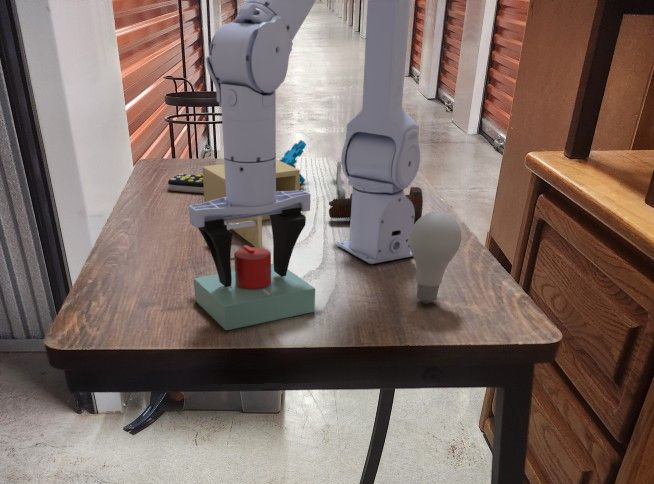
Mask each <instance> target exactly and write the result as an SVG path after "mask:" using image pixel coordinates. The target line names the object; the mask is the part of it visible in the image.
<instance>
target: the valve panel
mask: <svg viewBox="0 0 654 484" xmlns="http://www.w3.org/2000/svg"><path fill="white" fill-rule="evenodd" d="M231 276H232V282H231V286H230V287H225V286H224V285H222V284H221V283H220V281H219V277H218V273H214V274H209V275H203V276H198V277H194V278H193V288H194V290H193V291H194V300H195V302H196V303H197V304H198V305H199V306H200V307H201V308H202V309H203V310H204V311H205V312H206V313H207V314H208V315H209V316H211V318H212V319H213V320H214V321H215V322H217V324H218V325H220V326H221V327H222V328H223V330H225V331H231V330H236V329H240V328H244V327H248V326H254V325H258V324H263V323H269V322H272V321H277V320H278V321H279V320H282V319H287V318H291V317H296V316H302V315H306V314H311V313H315V309H316V287H314V286H312V285H311V284H310V283H308V282H307V281H306V280H304V279H302V278H301V277H299V276H298V275H296V274H295V273H294V272H292V271H291V270H289V268H288V269H287V274H286V276H283V277H281V276H280V275H278V274H277V273H276V272H274V265H273V263H271V284H270V285H269V286H267V287H264V288H260V289H245V288H241V287H239V286H237V285H236V282H235V270H231Z"/></svg>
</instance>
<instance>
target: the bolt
mask: <svg viewBox="0 0 654 484" xmlns="http://www.w3.org/2000/svg"><path fill="white" fill-rule="evenodd" d="M349 196H350V197H345V198H342V199H341V198H340V199H339V198H338V197H337V198H335V197H334V198H333V199H332V200H331V201H329V202H328V205H329V207H330V208H329V209H328V216H329V218H331V219H334V220H337V219H339V220H340V219H341V220H342V219H349V222H350V221H351V205H352V192H351V193H350V195H349ZM405 196H406V197H407V198H408V199H409V200H410V201H411V202H412V204H413V206H414V210H415V218H414V224H415V223H416V221H417V220H418V219H419V218H420V217H422V216H423V215H422V214H423V207H424V204H423V203H424V200H423V199H424V197H423V190H422V188H420V187H418V186H410V188H409V194H405Z"/></svg>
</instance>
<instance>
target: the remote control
mask: <svg viewBox="0 0 654 484" xmlns="http://www.w3.org/2000/svg"><path fill="white" fill-rule="evenodd" d="M167 186H168V189H169V191H171V192H179V193H180V192H181V193H194V194H204V184H203V175H201V174H187V173H186V174H184V173H178V174H177V175H174V176H173V177H172V178H170V179H168V180H167Z"/></svg>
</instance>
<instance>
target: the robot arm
mask: <svg viewBox="0 0 654 484" xmlns="http://www.w3.org/2000/svg"><path fill="white" fill-rule="evenodd" d="M315 3H316V0H245V2H243V4H242V5H241V7H240V9H239V11H238V14H237V15H236V17H235V18H234V20H233V22H227V23H224V24H222V25H221V26H220V27H219V28H218V30H217V31H216V32H215V33H214V35H213V37H212V38H211V41H210V45H209V51H208V56H206V57H205V62H206V67H207V68H206V69H207V72H208V75H209V78H210V79H211V81H212V82H213V84H214V87H215V93H216V103H218V106H219V107H220V108H221V121H222V122H221V124H222V143H223V164H224V166H225V186H226V197H223V198H219V199H215V200H212V201H208V202H205V201H204V202H200V203H197V204H189V205H188V213H189V224H191V225H192V226H193V227H194V228H196V229H198V231H199V232H200V234H201V236H202V238H203V239H204V242H205V244H206V245H207V247H208V250H209V252H210V254H211V258H212V260H213V262H214V265H215V269H216V272H217V274H218V277H219V281H220V283H221V284H222V285H224V286H225V287H230V286H231V282H232V276H231V271H232V264H231V257H232V256H231V255H232V243H233V235H234V233H232V231H230V229H229V230H227V225H224V222H226V221H233V220H239V219H246V218H253V217H259V216H266V215H270V219H269V221H270V226H271V233H272V244H273V245H272V246H273V251H272V252H273V253H272V258H273V259H272V260H273V262H272V264H273V265H274V272H276V273H277V274H278V275H280V276H281V277H283V276H286V274H287V269H288V270H289V265H290V261H291V258H292V255H293V251H294V250H295V249H294V248H295V247H296V246H295V245H296V243H297V241H298V239H299V237H300V236H301V235H300V234H301V233H302V231H303V230H304V229H305V227H306V221H307V217H306V216H305V214H303V213H304V212H310V211H311V196H312V195H311V193H310V192H308V191H305V190H303V189H299V190H298V191H280V192H276V159H277V147H276V145H277V142H276V141H277V140H276V139H277V138H276V137H277V136H276V135H277V134H276V133H277V132H276V130H277V129H276V126H277V124H276V123H277V122H276V115H277V110H276V109H277V108H276V105H277V104H276V95H277V94H276V93H277V92H276V91H277V90H278V89H279V88H280V86H281V85H282V84H283V83H284V82H285V79H286V76H287V74H288V68H289V59H290V55H291V53H292V50H293V48H292V47H293V45H294V43H293V40H294V38H295V37H296V35H297V33H299V30H300V29H301V27H302V25H303V24H304V22H305V20H306V19H307V17H308V16H309V14H310V12H311V10H312V9H313V7H314V5H315ZM410 12H411V0H367V5H366V26H365V28H366V29H365V47H364V66H363V87H362V89H363V91H362V106H361V107H362V108H361V110H360V111H359V112H358V113H357V114H356V115H355V116H354V117H352V118H351V119H350V120H349V121H348V123H346V131H345V132H346V134H345V139H344V143H343V146H342V150H341V155H340V162H341V170H342V172H343V174H344V176H345V177H346V178H347V179H348V181H347V185H348V186H350V187H352V188H351V189H352V190H351V191H352V192H351V193H352V205H351V221H350V220H349V222H350V223H349V236H348V237H349V238H348V240H343V241H338V242H337V246H338V247H339V248H341V249H342V250H344V251H346V252H348V253H350V254H352V255H353V256H355V257H357V258H359V259H360V260H362V261H364V262H366V263H367V264H370V265H374V264H380V263H384V262H389V261H395V260H400V259H405V258H411V257H413V255H412V252H411V249H410V245H409V236H410V233H411V230H412V227H413V225H414V218H415V210H414V206H413V204H412V202H411V201H410V200H409V199H408V198H407V197H406V196H405V195H406V194H405V189H408V188H409V186H410V185H411V184H412V182H413V181H414V180H415V178H416V177H417V174H418V171H419V168H420V164H421V149H420V144H419V140H420V139H419V136H420V135H419V133H420V126H419V124H418V123H417V122H416V121H415V120H414V119H413V118H412V116H411V115H409V113H407V111H406V110H405V109H404V108H403V98H404V97H403V96H404V87H405V74H406V73H405V72H406V62H407V51H408V49H407V48H408V36H409V22H410V14H411V13H410Z"/></svg>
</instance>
